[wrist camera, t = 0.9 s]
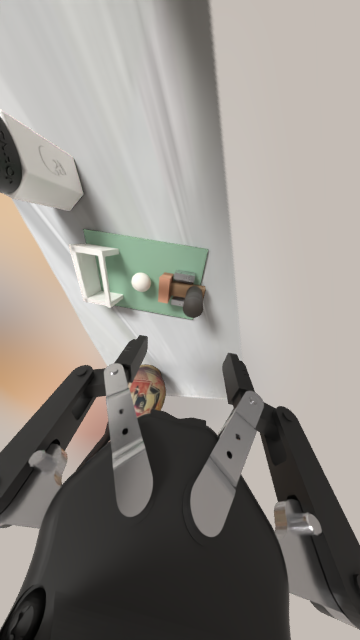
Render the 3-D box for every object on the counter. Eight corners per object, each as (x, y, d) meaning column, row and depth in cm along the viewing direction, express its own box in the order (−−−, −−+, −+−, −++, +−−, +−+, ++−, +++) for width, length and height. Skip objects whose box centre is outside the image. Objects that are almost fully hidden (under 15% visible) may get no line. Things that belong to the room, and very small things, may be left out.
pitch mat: (85, 229, 27) (83, 229, 26) (207, 249, 26) (208, 249, 26) (99, 301, 35) (98, 302, 35) (192, 318, 34) (192, 319, 34)
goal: (88, 243, 28) (65, 244, 23) (118, 248, 28) (101, 250, 23) (98, 293, 34) (81, 302, 29) (123, 298, 33) (110, 307, 29)
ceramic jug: (176, 367, 45) (145, 534, 19) (162, 389, 53) (126, 529, 27) (128, 348, 43) (25, 504, 18) (120, 374, 51) (42, 508, 26)
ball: (135, 269, 29) (127, 273, 26) (153, 272, 29) (147, 276, 26) (136, 287, 31) (128, 292, 28) (153, 290, 31) (147, 296, 28)
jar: (90, 210, 25) (15, 190, 15) (52, 212, 26) (-43, 194, 16) (68, 135, 21) (-61, 33, 10) (23, 141, 22) (-135, 53, 11)
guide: (176, 269, 28) (174, 272, 26) (195, 272, 28) (195, 276, 25) (173, 299, 32) (171, 304, 29) (189, 302, 32) (189, 307, 29)
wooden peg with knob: (164, 272, 28) (149, 286, 20) (206, 279, 28) (209, 296, 20) (163, 294, 31) (149, 314, 23) (201, 301, 31) (201, 324, 22)
